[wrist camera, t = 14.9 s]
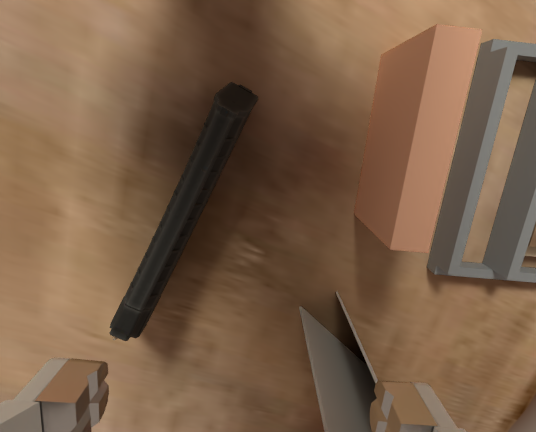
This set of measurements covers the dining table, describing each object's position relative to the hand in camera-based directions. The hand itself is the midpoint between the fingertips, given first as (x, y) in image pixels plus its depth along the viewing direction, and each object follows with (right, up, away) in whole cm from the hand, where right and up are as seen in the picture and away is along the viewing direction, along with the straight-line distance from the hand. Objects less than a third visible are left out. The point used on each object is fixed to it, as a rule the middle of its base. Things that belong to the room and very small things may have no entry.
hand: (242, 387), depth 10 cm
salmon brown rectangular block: (+14, +14, +29) cm, 35 cm away
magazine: (-9, +6, +31) cm, 33 cm away
